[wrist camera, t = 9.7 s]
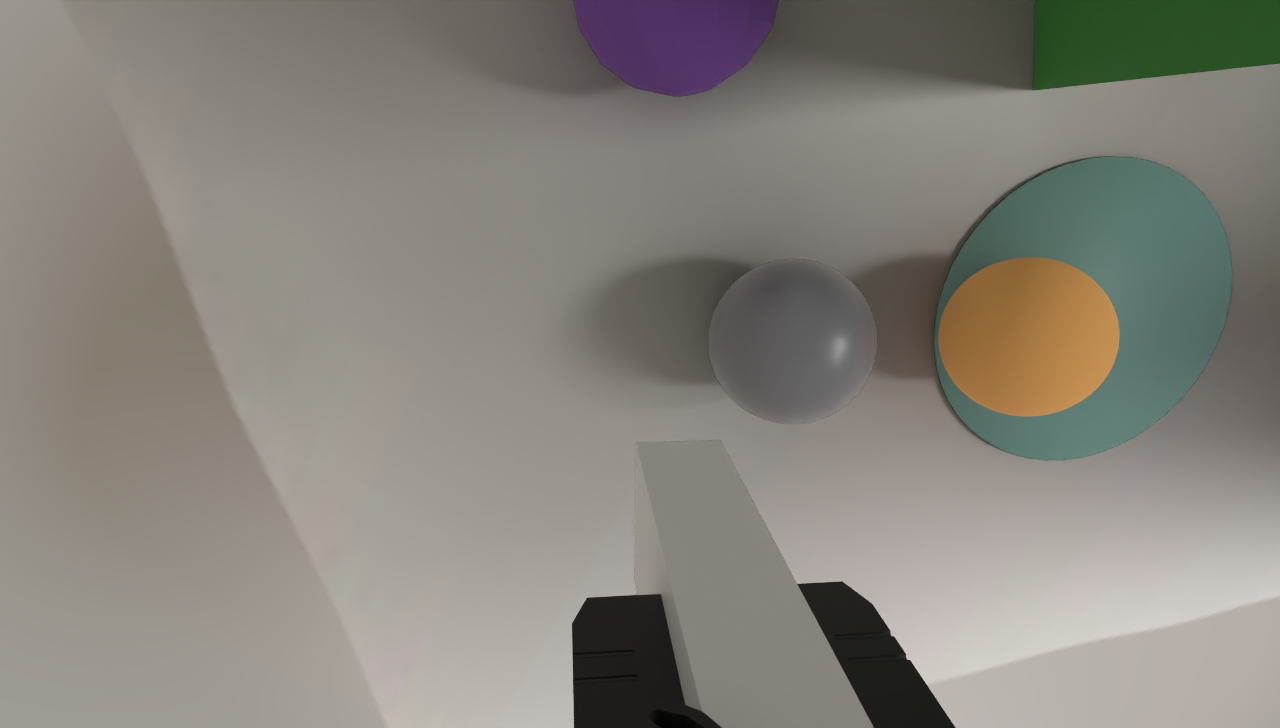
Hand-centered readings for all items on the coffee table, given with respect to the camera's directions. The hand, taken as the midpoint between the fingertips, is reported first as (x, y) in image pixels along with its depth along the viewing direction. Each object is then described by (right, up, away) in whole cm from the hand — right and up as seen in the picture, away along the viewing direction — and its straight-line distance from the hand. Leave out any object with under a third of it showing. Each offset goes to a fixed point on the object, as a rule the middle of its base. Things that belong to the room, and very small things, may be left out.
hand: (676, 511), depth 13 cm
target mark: (+17, +4, +15) cm, 23 cm away
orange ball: (+13, +4, +12) cm, 18 cm away
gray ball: (+4, +3, +11) cm, 13 cm away
